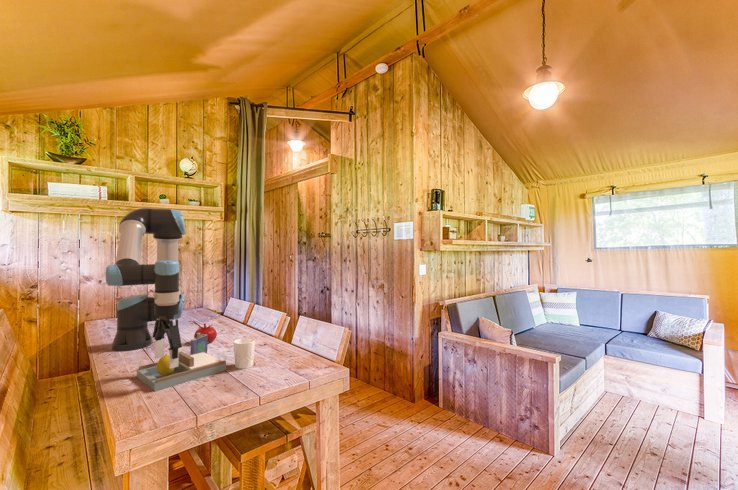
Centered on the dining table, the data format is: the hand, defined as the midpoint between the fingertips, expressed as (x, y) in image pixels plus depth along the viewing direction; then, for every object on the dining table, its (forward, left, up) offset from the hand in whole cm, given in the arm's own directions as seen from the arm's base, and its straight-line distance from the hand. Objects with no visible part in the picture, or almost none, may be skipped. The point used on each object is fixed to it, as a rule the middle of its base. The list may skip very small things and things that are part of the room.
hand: (166, 362), depth 119 cm
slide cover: (0, +11, -3) cm, 11 cm away
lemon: (0, 0, -5) cm, 5 cm away
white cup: (+10, +24, -6) cm, 27 cm away
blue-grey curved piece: (-12, +16, -6) cm, 21 cm away
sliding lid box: (0, +5, -5) cm, 8 cm away
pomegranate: (-33, +28, -6) cm, 44 cm away
